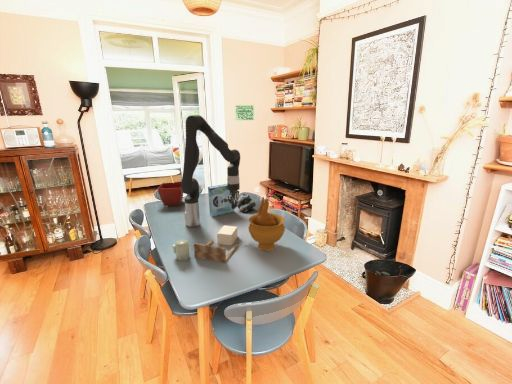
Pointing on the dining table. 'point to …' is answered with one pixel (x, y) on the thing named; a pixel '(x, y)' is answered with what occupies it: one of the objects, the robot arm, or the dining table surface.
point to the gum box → (219, 200)
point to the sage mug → (182, 250)
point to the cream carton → (227, 235)
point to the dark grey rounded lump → (245, 203)
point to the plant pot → (171, 193)
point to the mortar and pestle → (266, 227)
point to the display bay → (212, 252)
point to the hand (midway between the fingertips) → (234, 208)
